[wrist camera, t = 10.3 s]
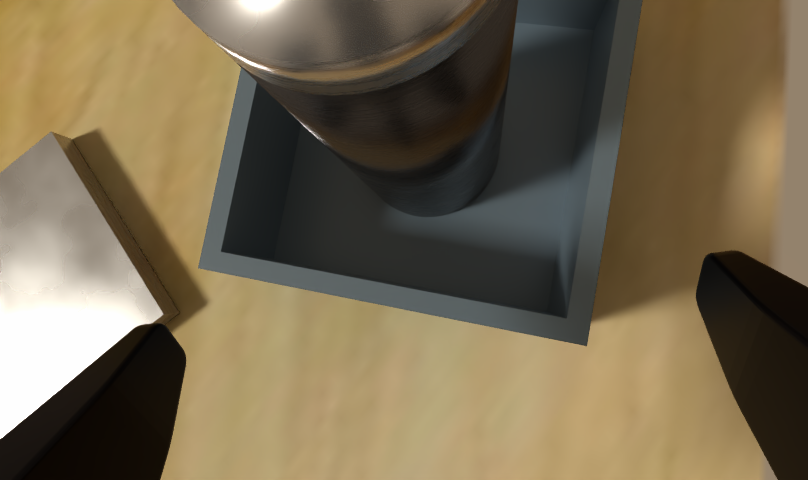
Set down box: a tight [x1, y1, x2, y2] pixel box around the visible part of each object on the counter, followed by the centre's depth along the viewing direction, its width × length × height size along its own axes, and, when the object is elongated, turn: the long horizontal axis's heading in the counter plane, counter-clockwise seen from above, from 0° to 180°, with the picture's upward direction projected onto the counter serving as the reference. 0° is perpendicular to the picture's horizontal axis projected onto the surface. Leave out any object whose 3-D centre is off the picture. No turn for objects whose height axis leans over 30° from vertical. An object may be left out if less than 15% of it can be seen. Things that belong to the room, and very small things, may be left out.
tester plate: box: [0, 132, 179, 438], centre depth 20 cm, size 9×9×1 cm
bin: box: [198, 0, 642, 346], centre depth 16 cm, size 11×11×4 cm
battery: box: [173, 0, 518, 217], centre depth 12 cm, size 5×5×13 cm
